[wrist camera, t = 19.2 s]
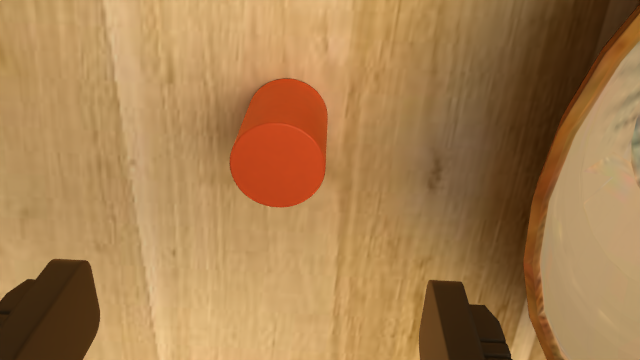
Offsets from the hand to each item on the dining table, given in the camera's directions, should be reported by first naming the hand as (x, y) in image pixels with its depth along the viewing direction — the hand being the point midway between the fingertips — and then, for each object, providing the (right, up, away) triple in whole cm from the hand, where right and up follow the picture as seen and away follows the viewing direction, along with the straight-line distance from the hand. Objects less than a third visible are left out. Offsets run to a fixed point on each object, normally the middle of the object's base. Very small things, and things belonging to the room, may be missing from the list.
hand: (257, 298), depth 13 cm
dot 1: (0, +6, +12) cm, 13 cm away
